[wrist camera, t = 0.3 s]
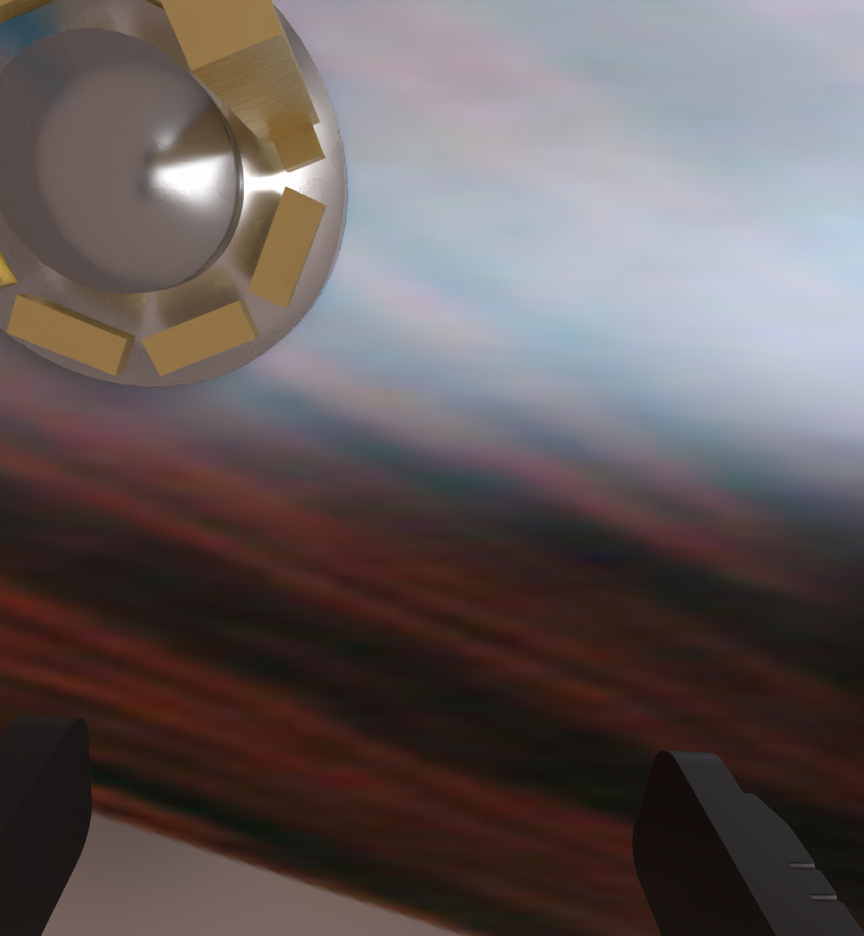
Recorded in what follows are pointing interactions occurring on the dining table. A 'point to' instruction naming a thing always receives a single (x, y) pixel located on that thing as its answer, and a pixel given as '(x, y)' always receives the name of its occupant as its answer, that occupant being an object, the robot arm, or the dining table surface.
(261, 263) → the peg on ring base
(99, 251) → the grey round piece
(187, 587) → the dining table surface
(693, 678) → the dining table surface
